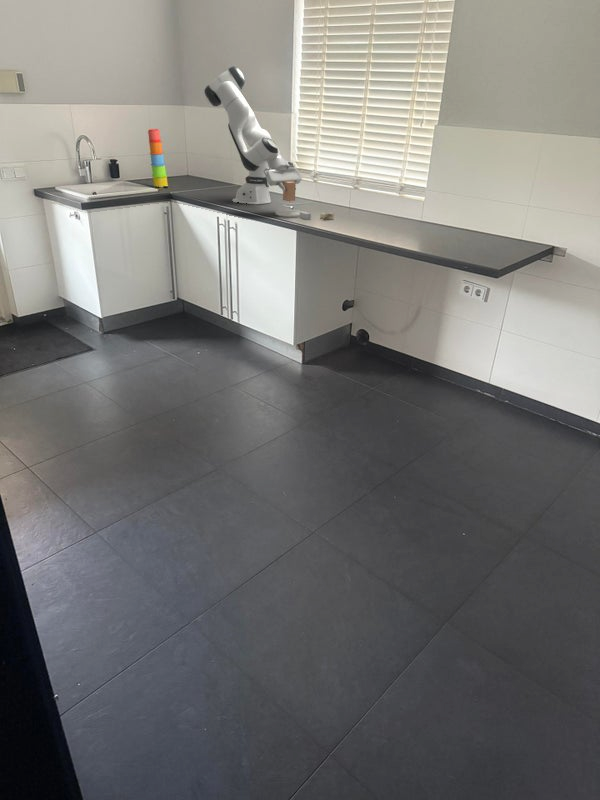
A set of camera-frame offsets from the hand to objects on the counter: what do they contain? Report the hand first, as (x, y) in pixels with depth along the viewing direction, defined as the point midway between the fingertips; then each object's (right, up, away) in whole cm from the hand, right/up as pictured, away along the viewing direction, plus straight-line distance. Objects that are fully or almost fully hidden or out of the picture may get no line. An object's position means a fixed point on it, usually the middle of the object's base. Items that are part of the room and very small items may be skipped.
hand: (290, 190), depth 291 cm
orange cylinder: (-1, -4, +3) cm, 5 cm away
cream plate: (0, -10, +6) cm, 12 cm away
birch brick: (+19, -16, -2) cm, 25 cm away
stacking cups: (-86, +31, +80) cm, 122 cm away
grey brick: (+8, -15, -1) cm, 17 cm away
